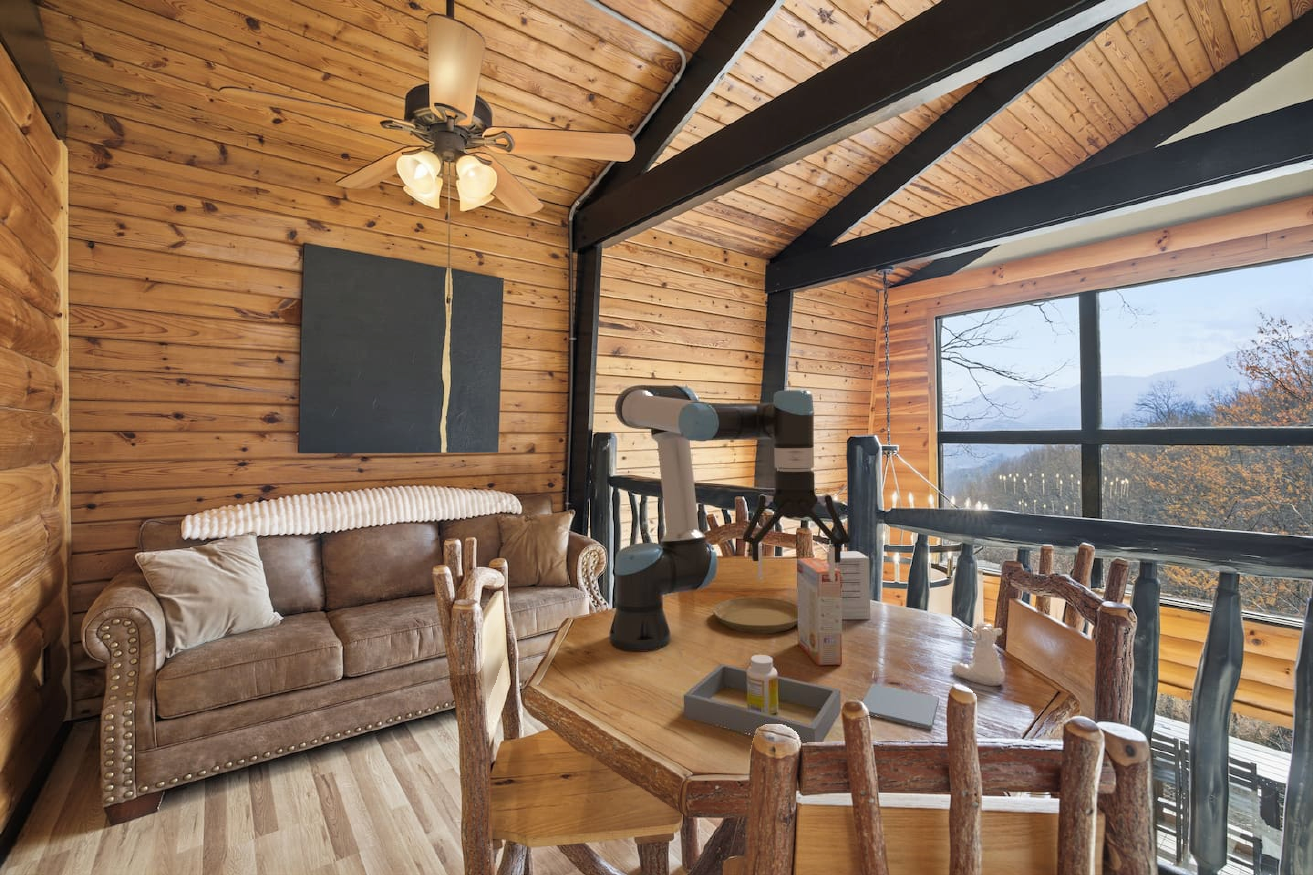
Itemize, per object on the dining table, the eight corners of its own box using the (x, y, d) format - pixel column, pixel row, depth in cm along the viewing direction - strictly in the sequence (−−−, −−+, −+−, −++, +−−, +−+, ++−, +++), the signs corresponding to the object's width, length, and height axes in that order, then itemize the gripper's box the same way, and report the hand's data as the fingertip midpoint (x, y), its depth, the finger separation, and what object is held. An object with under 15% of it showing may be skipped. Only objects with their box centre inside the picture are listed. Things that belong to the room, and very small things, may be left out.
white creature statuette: (990, 669, 123) (990, 613, 123) (1021, 687, 114) (1021, 626, 114) (949, 672, 121) (949, 616, 121) (978, 690, 113) (977, 630, 113)
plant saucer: (721, 639, 144) (721, 626, 144) (707, 609, 168) (707, 598, 168) (816, 635, 145) (816, 622, 145) (789, 606, 169) (789, 595, 169)
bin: (683, 716, 105) (683, 694, 104) (721, 683, 118) (721, 663, 118) (815, 753, 92) (815, 729, 92) (840, 711, 106) (840, 689, 105)
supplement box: (871, 619, 155) (870, 557, 155) (837, 620, 156) (836, 558, 155) (859, 608, 165) (858, 550, 165) (827, 609, 165) (826, 550, 165)
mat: (858, 713, 105) (858, 708, 105) (872, 687, 115) (872, 683, 115) (931, 730, 98) (931, 725, 98) (938, 701, 109) (938, 697, 109)
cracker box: (844, 665, 126) (842, 570, 126) (817, 667, 125) (815, 571, 125) (821, 642, 140) (820, 556, 140) (797, 643, 139) (796, 557, 139)
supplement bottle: (774, 706, 108) (774, 652, 108) (781, 721, 102) (780, 664, 102) (745, 707, 108) (744, 652, 108) (749, 722, 102) (748, 664, 102)
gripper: (729, 471, 110) (731, 581, 111) (865, 470, 106) (866, 585, 107) (730, 468, 118) (732, 572, 118) (857, 468, 114) (858, 575, 114)
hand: (796, 578), depth 112 cm, fingers open, 13 cm apart
